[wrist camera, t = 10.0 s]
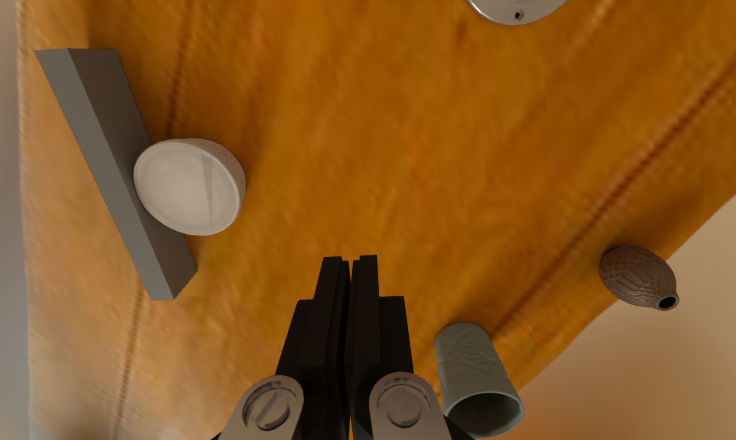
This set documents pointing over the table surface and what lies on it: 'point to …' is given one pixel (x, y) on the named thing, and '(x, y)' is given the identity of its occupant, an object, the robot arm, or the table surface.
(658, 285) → the vase
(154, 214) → the ramekin
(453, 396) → the blue-grey plant pot
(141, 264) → the board
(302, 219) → the table surface
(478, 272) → the table surface
